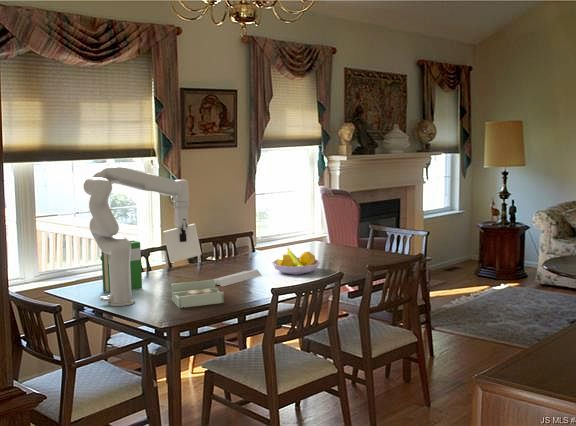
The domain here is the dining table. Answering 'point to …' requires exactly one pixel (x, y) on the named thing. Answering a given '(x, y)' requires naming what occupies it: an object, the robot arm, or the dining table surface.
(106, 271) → the hardback book
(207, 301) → the tray
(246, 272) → the crown molding
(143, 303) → the dining table surface
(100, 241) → the robot arm
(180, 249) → the sheet
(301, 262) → the fruit bowl
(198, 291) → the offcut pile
